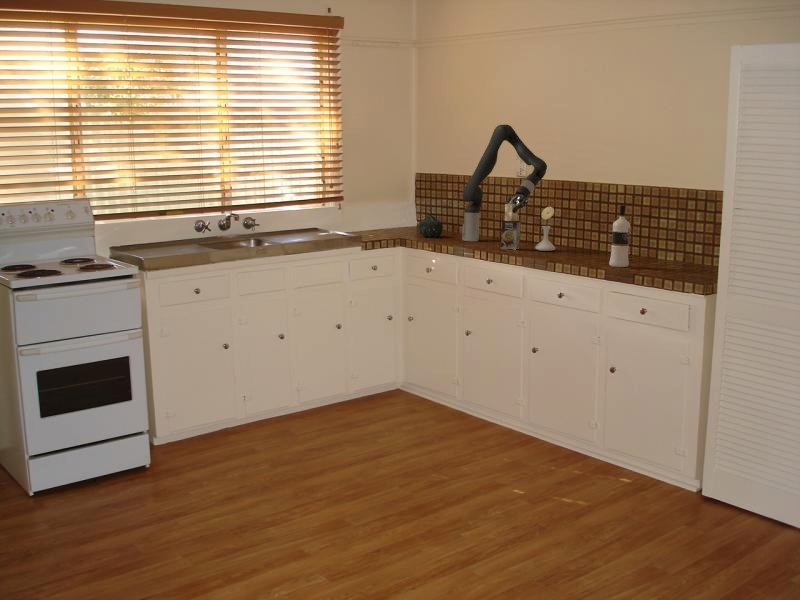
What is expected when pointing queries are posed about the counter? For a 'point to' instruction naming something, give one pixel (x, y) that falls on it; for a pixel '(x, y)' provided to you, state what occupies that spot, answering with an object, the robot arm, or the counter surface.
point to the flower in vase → (546, 231)
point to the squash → (430, 227)
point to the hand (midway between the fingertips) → (509, 211)
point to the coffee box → (510, 234)
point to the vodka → (620, 241)
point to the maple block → (510, 213)
